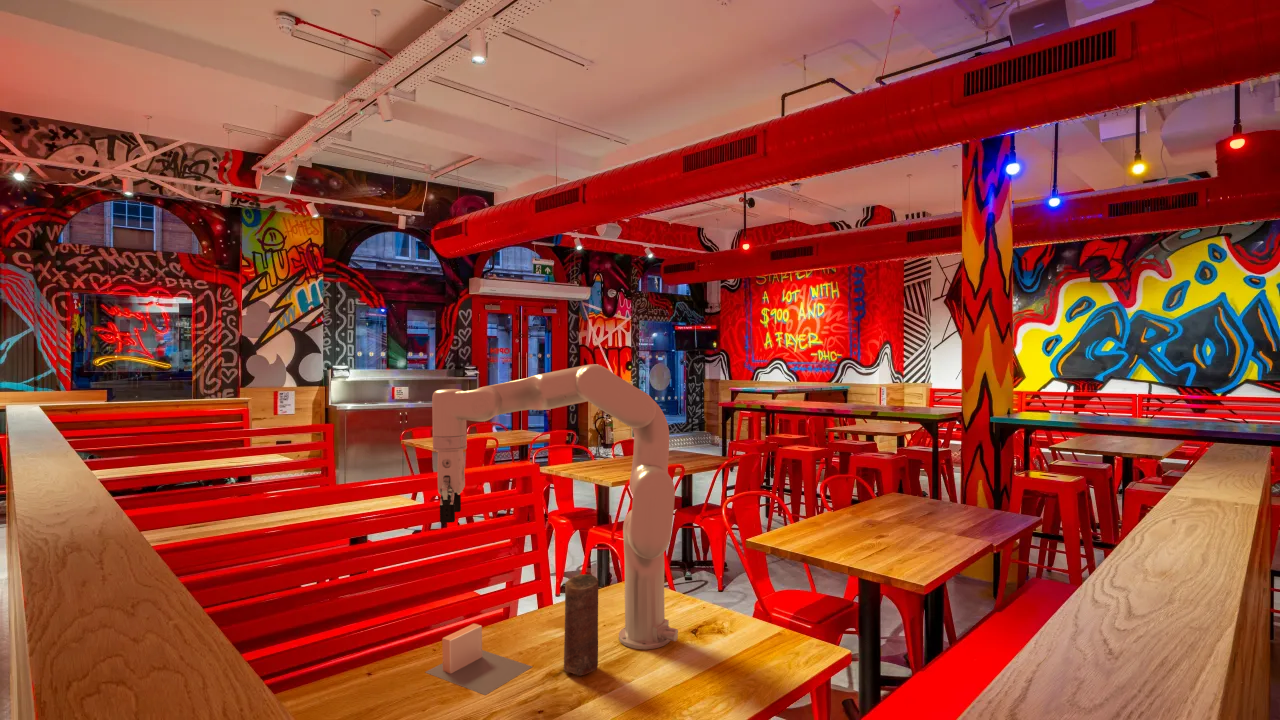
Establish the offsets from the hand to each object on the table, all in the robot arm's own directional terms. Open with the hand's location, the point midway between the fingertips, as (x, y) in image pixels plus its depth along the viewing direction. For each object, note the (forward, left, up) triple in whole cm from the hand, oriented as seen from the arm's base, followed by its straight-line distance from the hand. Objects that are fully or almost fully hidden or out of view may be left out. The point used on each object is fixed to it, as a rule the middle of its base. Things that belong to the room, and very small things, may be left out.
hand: (450, 516), depth 154 cm
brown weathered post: (-31, -8, -31) cm, 45 cm away
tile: (-8, +5, -30) cm, 32 cm away
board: (-13, +5, -31) cm, 34 cm away
